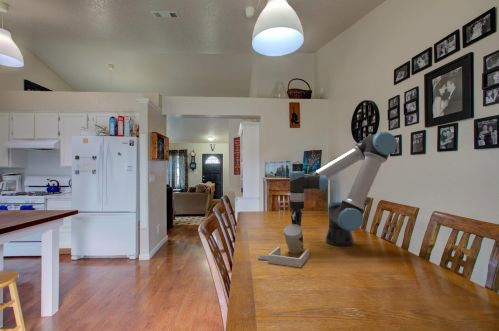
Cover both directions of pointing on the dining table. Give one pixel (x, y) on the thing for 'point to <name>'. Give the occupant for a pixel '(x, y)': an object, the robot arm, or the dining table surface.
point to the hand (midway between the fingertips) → (296, 245)
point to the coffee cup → (294, 238)
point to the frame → (287, 258)
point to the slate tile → (263, 258)
